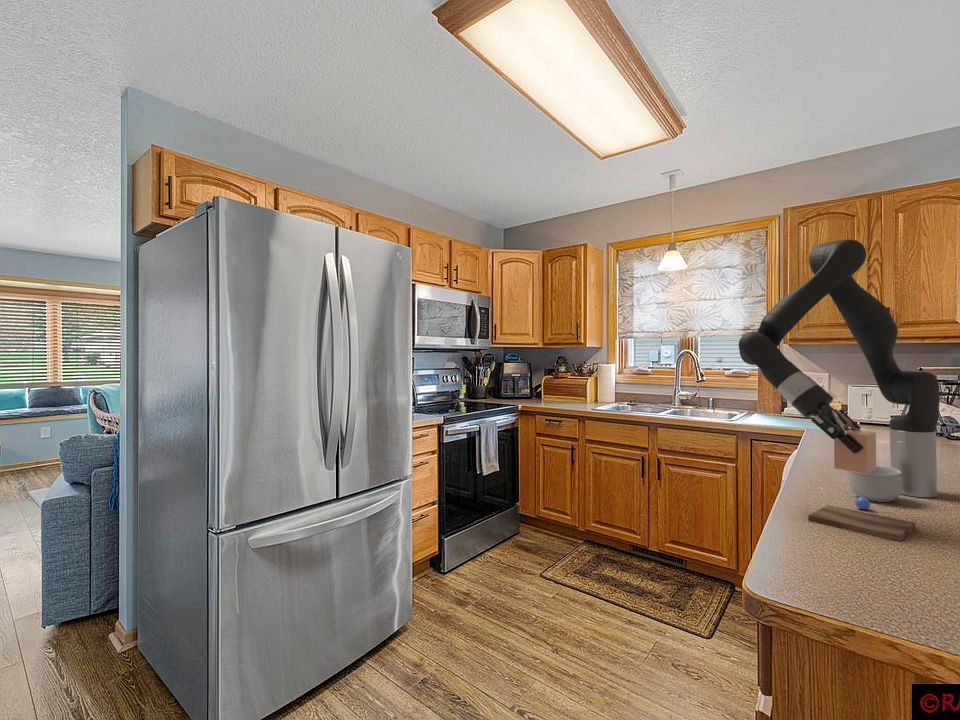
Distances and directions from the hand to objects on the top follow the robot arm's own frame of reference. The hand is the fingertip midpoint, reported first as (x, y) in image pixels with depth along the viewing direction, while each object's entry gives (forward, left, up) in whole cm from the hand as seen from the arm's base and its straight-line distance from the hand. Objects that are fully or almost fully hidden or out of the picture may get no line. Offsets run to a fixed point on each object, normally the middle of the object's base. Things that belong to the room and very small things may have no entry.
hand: (864, 449), depth 105 cm
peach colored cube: (0, -2, -5) cm, 5 cm away
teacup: (-25, -5, -17) cm, 31 cm away
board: (+2, 0, -17) cm, 17 cm away
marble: (-11, -3, -17) cm, 20 cm away
